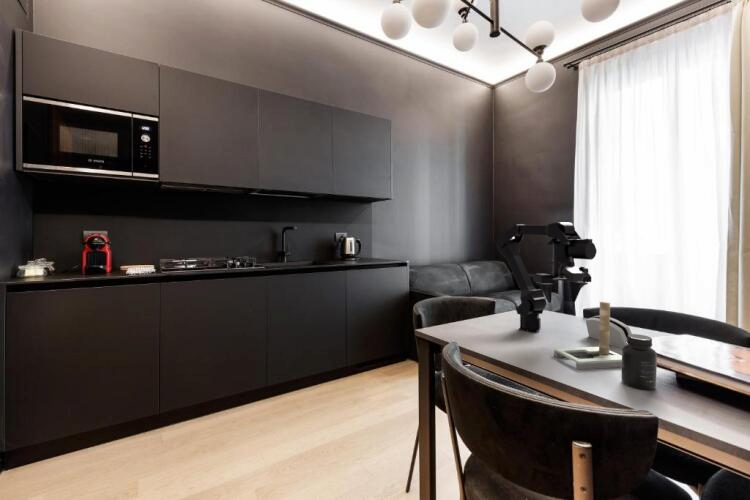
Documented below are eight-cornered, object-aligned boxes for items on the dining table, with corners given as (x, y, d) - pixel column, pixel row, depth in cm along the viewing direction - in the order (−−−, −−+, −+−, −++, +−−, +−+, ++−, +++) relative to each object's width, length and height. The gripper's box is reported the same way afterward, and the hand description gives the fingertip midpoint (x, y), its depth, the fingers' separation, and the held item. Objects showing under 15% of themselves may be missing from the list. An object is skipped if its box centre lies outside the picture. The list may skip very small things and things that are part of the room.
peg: (597, 362, 100) (598, 303, 100) (591, 356, 105) (592, 300, 104) (617, 363, 99) (618, 304, 98) (609, 357, 104) (610, 301, 103)
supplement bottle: (614, 379, 88) (615, 333, 88) (639, 378, 89) (640, 332, 88) (637, 391, 82) (638, 341, 81) (664, 390, 82) (665, 340, 82)
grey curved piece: (642, 350, 110) (633, 321, 110) (629, 356, 110) (620, 326, 109) (600, 335, 127) (592, 310, 126) (589, 340, 126) (581, 315, 125)
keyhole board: (579, 369, 95) (579, 361, 95) (554, 355, 106) (554, 348, 106) (630, 366, 97) (630, 359, 97) (600, 353, 108) (600, 346, 108)
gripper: (552, 260, 113) (551, 307, 113) (604, 259, 115) (603, 305, 116) (532, 258, 124) (531, 301, 124) (580, 257, 126) (579, 299, 127)
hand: (561, 302), depth 123 cm, fingers open, 9 cm apart
